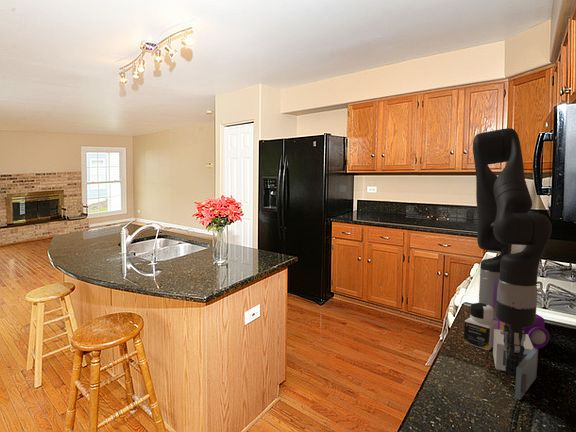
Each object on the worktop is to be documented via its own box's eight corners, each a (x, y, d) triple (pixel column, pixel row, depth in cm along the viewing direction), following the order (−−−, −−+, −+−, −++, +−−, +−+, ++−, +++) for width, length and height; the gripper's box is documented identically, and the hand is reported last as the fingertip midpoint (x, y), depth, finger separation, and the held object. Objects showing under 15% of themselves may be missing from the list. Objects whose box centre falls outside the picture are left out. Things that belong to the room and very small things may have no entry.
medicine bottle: (463, 342, 105) (464, 304, 103) (472, 335, 109) (474, 299, 108) (488, 351, 99) (490, 311, 98) (497, 343, 104) (499, 305, 103)
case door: (514, 397, 77) (515, 367, 76) (531, 375, 86) (533, 347, 85) (523, 401, 76) (525, 370, 75) (539, 378, 85) (541, 350, 84)
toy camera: (530, 357, 95) (532, 323, 94) (489, 336, 109) (491, 306, 108) (559, 352, 98) (561, 318, 97) (516, 332, 111) (518, 302, 110)
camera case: (492, 352, 98) (494, 327, 98) (529, 359, 94) (531, 333, 94) (495, 369, 90) (497, 341, 89) (536, 377, 86) (538, 348, 85)
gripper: (494, 289, 85) (490, 355, 87) (499, 308, 73) (494, 383, 75) (531, 294, 81) (526, 362, 83) (542, 314, 70) (536, 393, 72)
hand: (511, 372), depth 79 cm, fingers closed
